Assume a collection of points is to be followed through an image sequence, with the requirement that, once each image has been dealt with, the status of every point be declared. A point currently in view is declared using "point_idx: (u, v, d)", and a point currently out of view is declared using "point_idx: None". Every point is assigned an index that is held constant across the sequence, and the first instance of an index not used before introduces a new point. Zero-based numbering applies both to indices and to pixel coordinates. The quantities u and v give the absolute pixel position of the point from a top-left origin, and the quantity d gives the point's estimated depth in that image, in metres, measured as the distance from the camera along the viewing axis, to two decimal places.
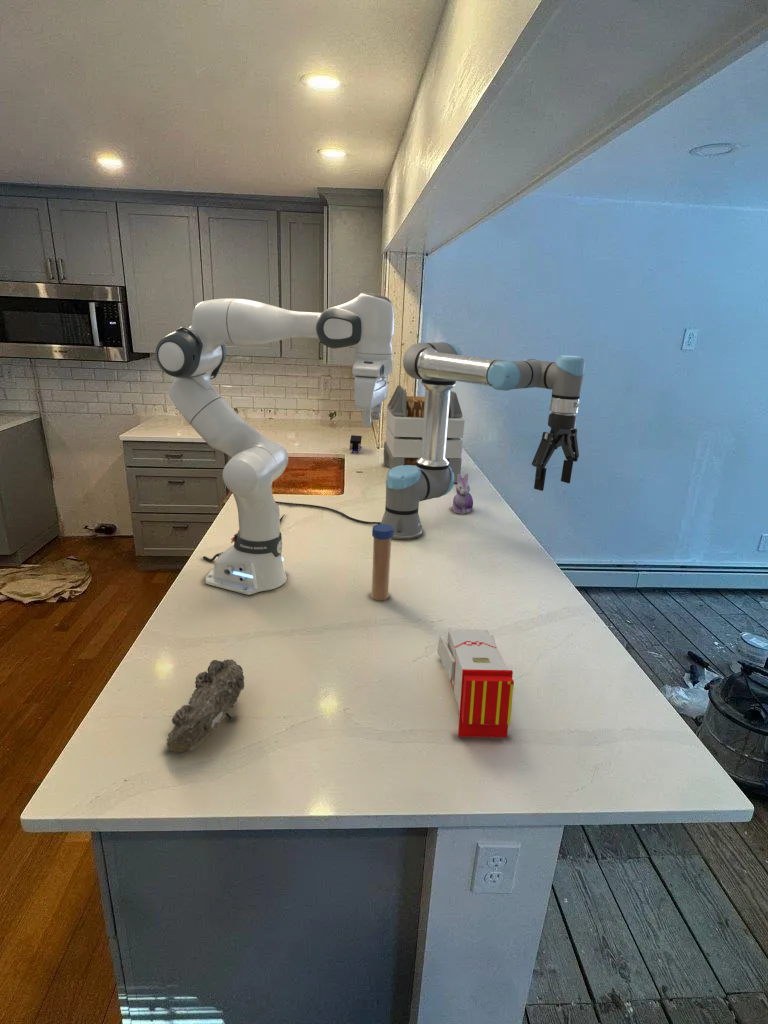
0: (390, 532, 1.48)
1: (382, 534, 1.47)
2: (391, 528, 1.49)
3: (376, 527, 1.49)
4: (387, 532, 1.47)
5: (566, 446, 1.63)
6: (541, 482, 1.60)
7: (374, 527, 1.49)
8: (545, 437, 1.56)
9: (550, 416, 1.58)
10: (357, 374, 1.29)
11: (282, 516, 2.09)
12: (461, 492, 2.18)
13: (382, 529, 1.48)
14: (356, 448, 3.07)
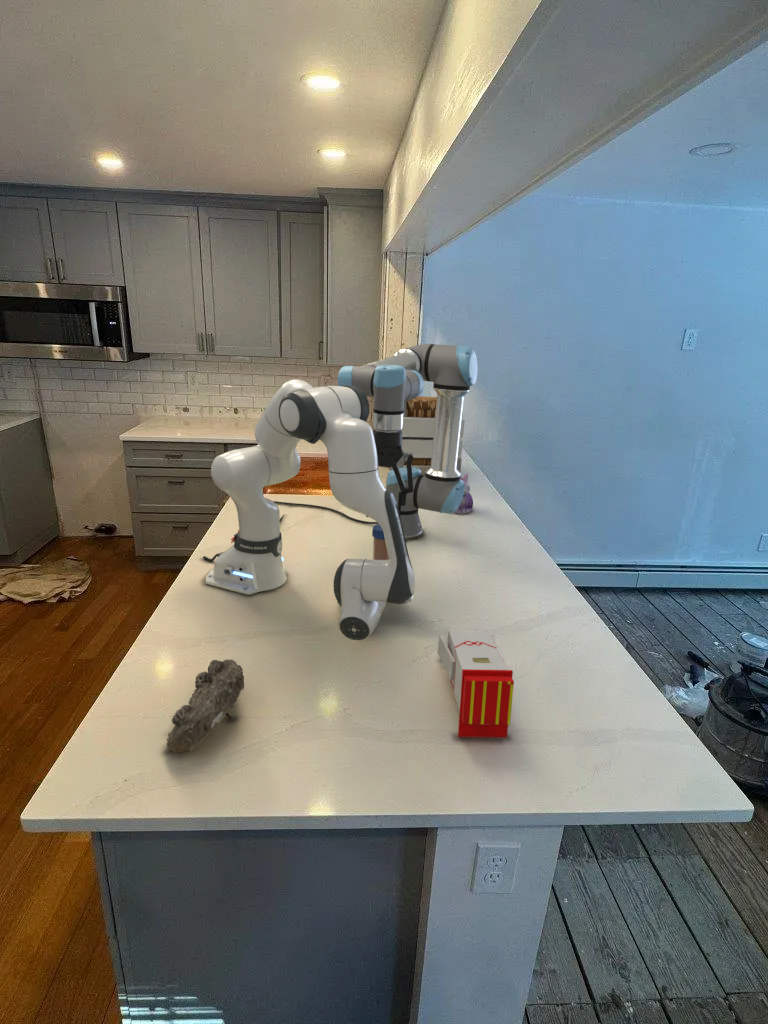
0: None
1: (382, 534, 1.47)
2: None
3: (376, 527, 1.49)
4: None
5: None
6: None
7: (374, 527, 1.49)
8: None
9: (400, 435, 1.39)
10: None
11: (282, 516, 2.09)
12: None
13: None
14: None
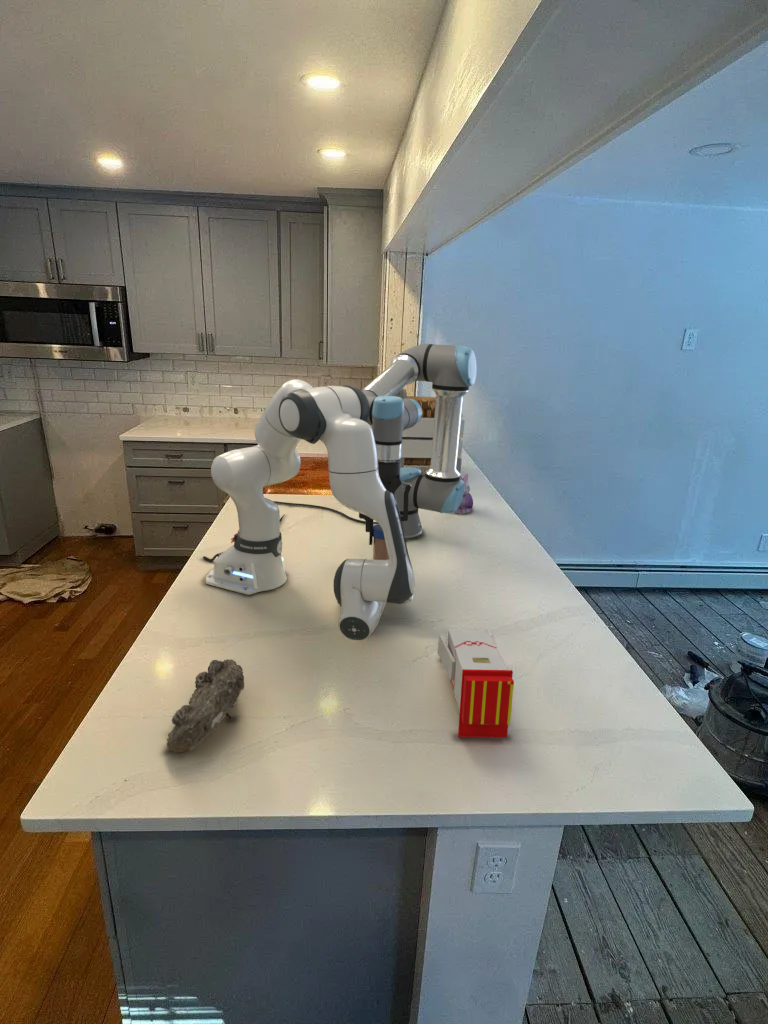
0: None
1: (382, 534, 1.47)
2: None
3: (376, 527, 1.49)
4: None
5: None
6: None
7: (374, 527, 1.49)
8: None
9: (398, 465, 1.41)
10: None
11: (282, 516, 2.09)
12: None
13: None
14: None
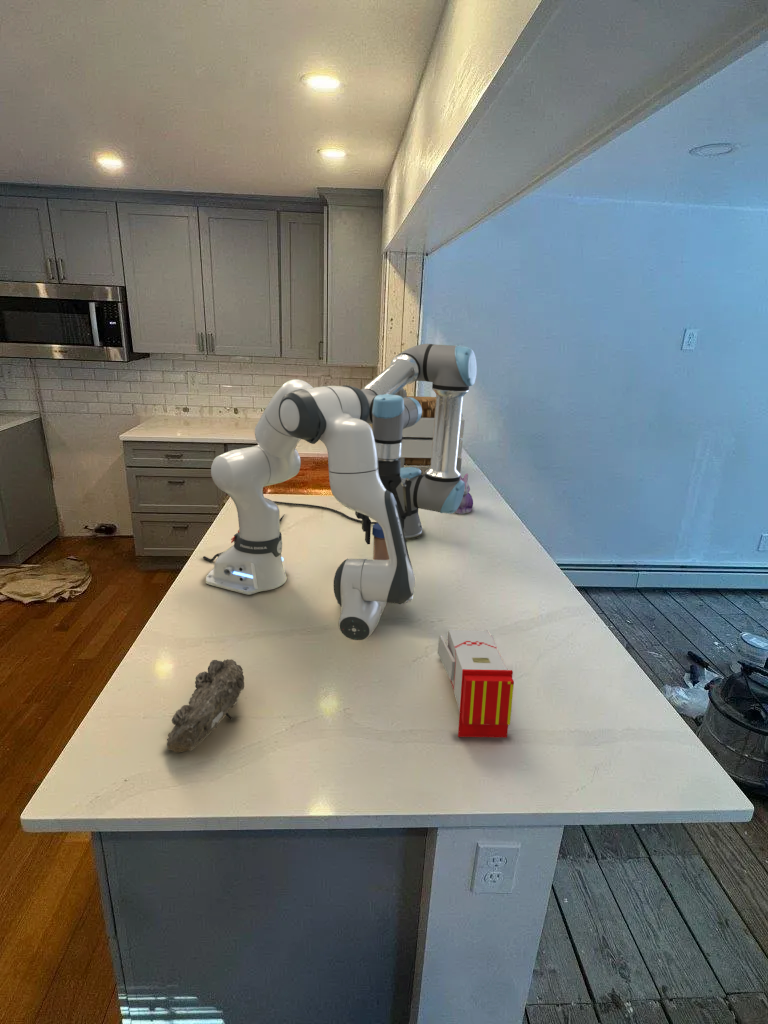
0: None
1: None
2: None
3: None
4: None
5: None
6: None
7: None
8: None
9: (400, 462, 1.42)
10: None
11: (282, 516, 2.09)
12: None
13: None
14: None
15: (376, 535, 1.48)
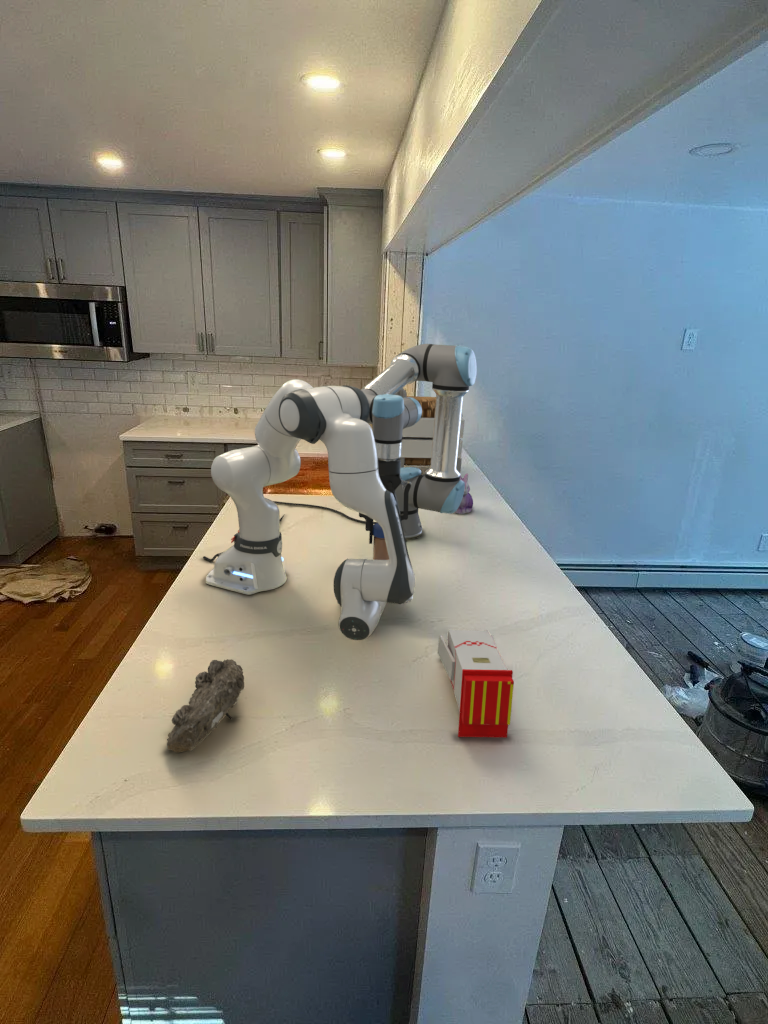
0: None
1: None
2: None
3: None
4: None
5: None
6: None
7: None
8: None
9: (398, 463, 1.41)
10: None
11: (282, 516, 2.09)
12: None
13: None
14: None
15: (376, 535, 1.48)
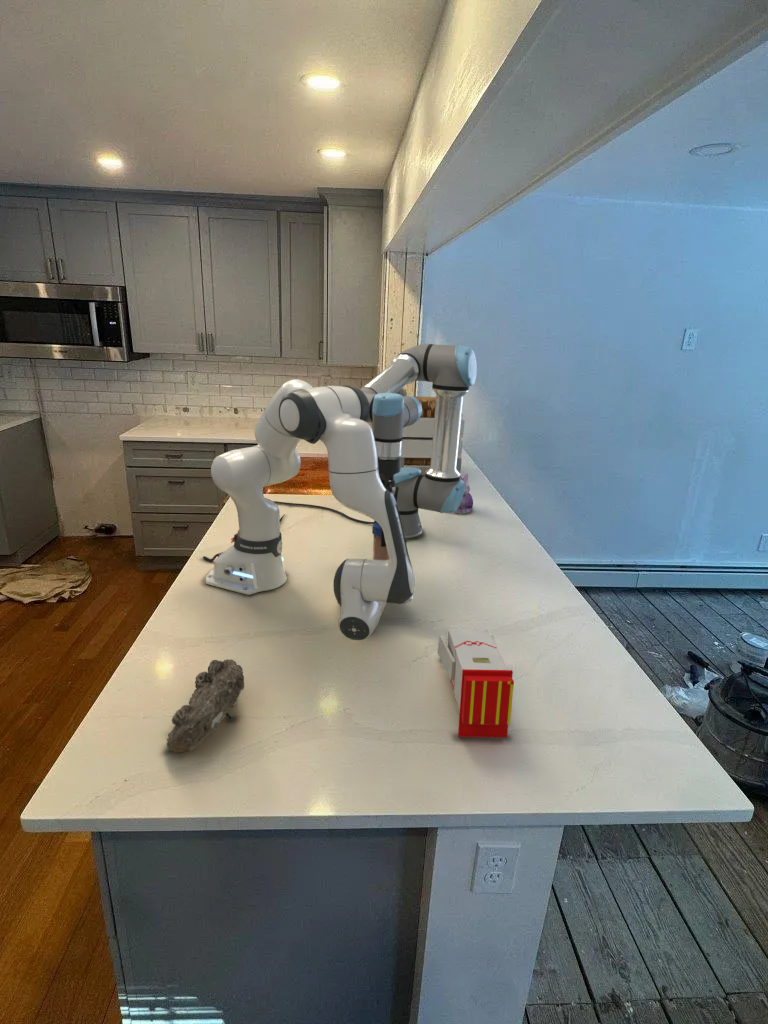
0: None
1: None
2: (375, 526, 1.48)
3: None
4: None
5: None
6: None
7: None
8: None
9: None
10: None
11: (282, 516, 2.09)
12: None
13: None
14: None
15: None
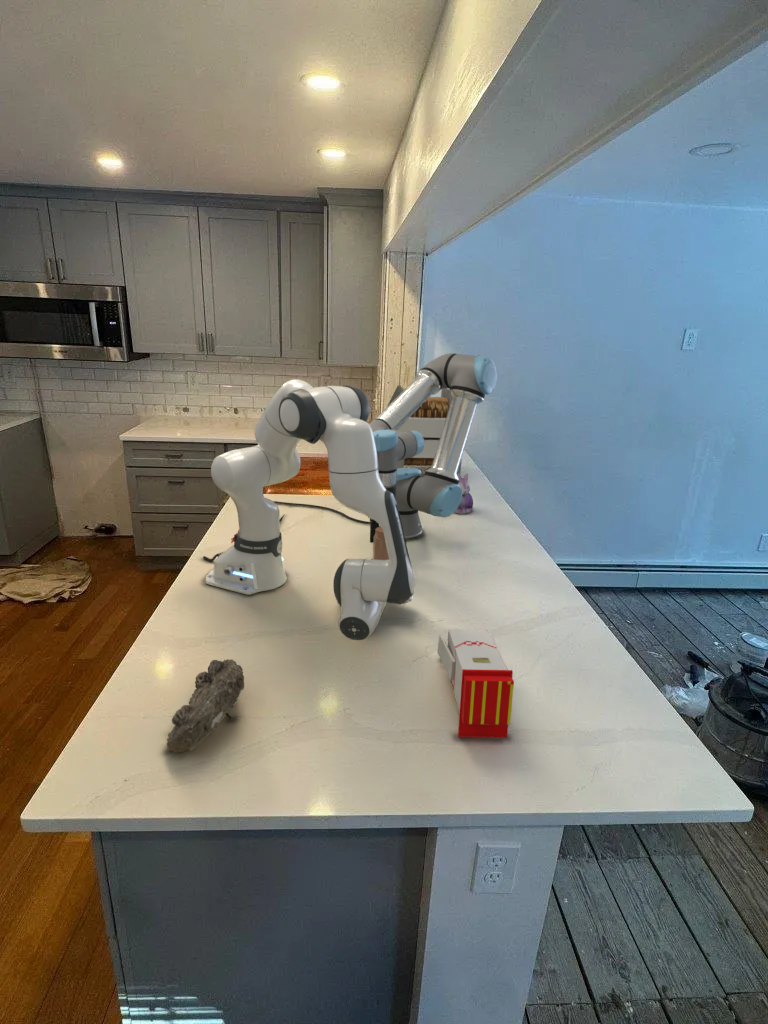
0: None
1: None
2: None
3: None
4: None
5: None
6: None
7: None
8: None
9: None
10: None
11: (282, 516, 2.09)
12: None
13: None
14: None
15: None
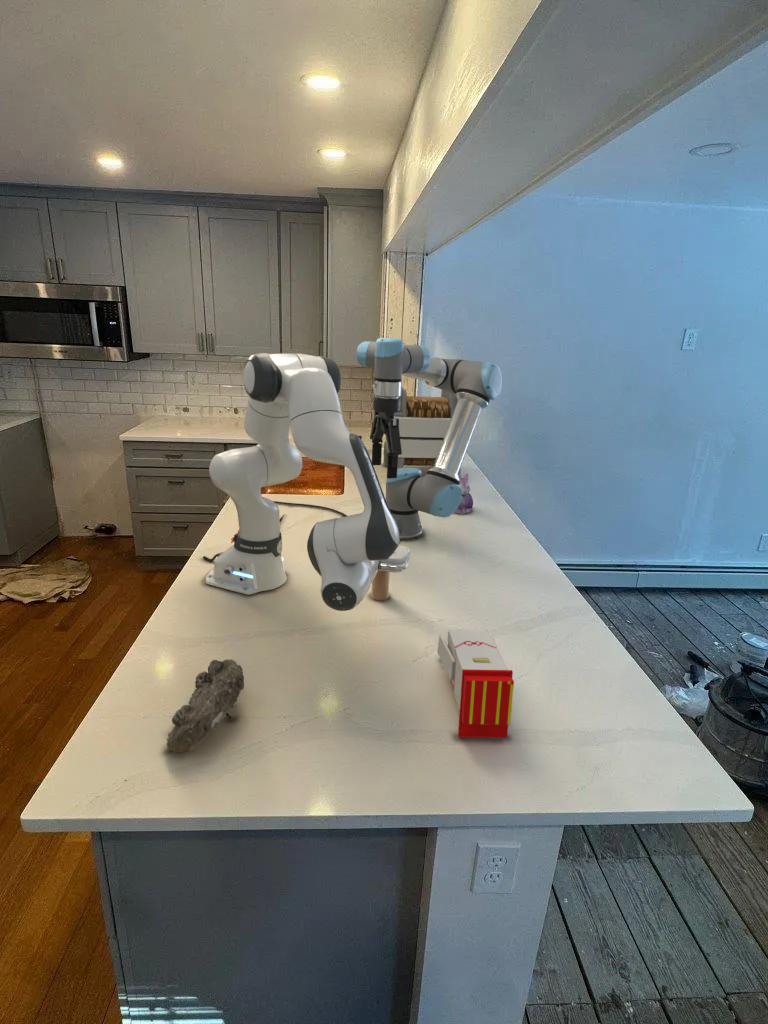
0: None
1: None
2: None
3: None
4: None
5: None
6: None
7: None
8: None
9: None
10: None
11: (282, 516, 2.09)
12: None
13: None
14: None
15: None
